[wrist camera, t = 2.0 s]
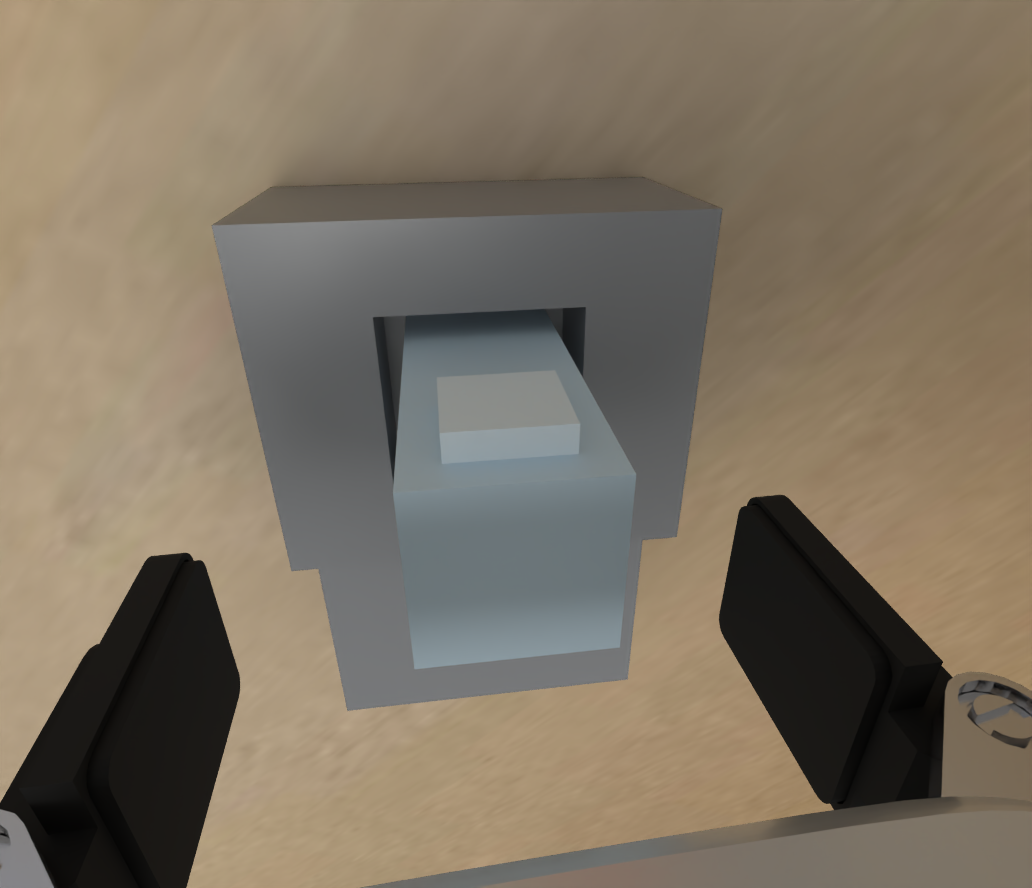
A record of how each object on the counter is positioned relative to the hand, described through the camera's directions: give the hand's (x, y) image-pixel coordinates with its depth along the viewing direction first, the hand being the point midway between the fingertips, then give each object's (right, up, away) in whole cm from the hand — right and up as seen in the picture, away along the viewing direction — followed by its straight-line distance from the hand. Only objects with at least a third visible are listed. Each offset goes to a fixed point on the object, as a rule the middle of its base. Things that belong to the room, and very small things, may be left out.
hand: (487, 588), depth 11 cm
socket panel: (-1, +2, +14) cm, 14 cm away
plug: (-1, +5, +9) cm, 10 cm away
